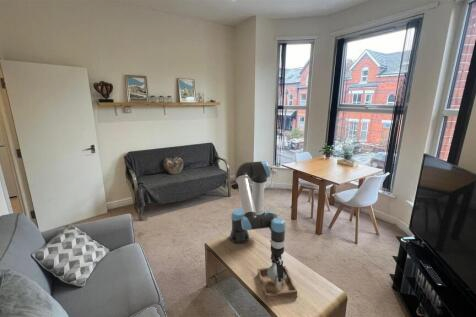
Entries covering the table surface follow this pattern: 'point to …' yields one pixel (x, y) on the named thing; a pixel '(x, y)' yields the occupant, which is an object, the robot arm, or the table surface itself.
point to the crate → (272, 289)
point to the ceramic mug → (274, 273)
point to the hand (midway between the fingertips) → (276, 278)
